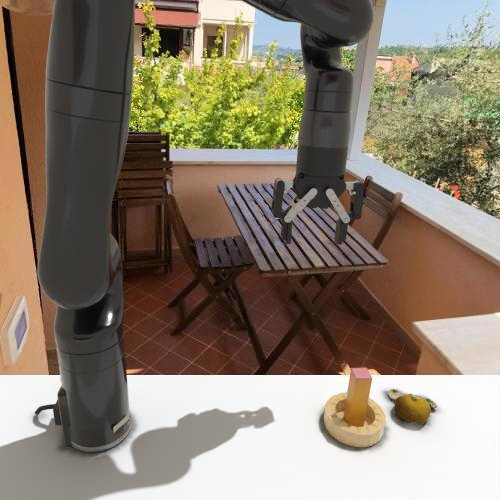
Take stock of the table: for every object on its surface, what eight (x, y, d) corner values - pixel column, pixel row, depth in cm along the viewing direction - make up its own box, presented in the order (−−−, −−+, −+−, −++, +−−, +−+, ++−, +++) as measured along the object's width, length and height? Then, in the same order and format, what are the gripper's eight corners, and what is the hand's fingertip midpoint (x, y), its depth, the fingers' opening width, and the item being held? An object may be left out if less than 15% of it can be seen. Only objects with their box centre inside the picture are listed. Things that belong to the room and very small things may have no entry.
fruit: (435, 402, 77) (439, 385, 76) (437, 434, 70) (441, 417, 68) (388, 390, 80) (391, 373, 78) (384, 420, 72) (387, 402, 71)
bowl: (333, 448, 66) (334, 435, 65) (317, 405, 75) (319, 393, 74) (392, 445, 67) (395, 433, 66) (370, 403, 76) (372, 391, 75)
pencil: (348, 428, 70) (356, 378, 66) (343, 416, 72) (351, 367, 68) (363, 427, 70) (372, 377, 66) (358, 416, 72) (366, 367, 69)
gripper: (280, 144, 60) (273, 251, 66) (378, 147, 62) (362, 251, 68) (273, 137, 67) (267, 234, 73) (360, 140, 69) (347, 235, 74)
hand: (312, 242), depth 70 cm, fingers open, 8 cm apart
